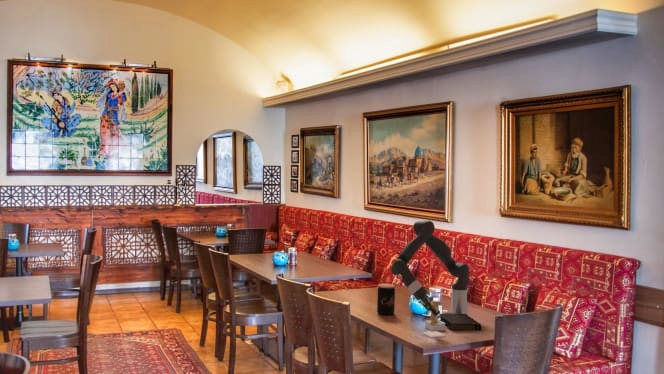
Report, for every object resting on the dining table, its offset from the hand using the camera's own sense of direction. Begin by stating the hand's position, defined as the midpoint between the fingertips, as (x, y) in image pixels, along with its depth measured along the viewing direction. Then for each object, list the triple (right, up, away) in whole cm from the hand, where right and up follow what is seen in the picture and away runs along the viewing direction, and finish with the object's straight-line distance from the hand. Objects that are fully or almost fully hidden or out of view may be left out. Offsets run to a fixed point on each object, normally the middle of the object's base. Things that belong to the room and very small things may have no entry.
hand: (437, 314), depth 377 cm
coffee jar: (-25, -9, +50) cm, 57 cm away
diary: (+16, -12, +25) cm, 32 cm away
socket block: (+1, -11, +15) cm, 19 cm away
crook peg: (-1, -6, 0) cm, 6 cm away
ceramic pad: (-2, -12, +1) cm, 12 cm away
